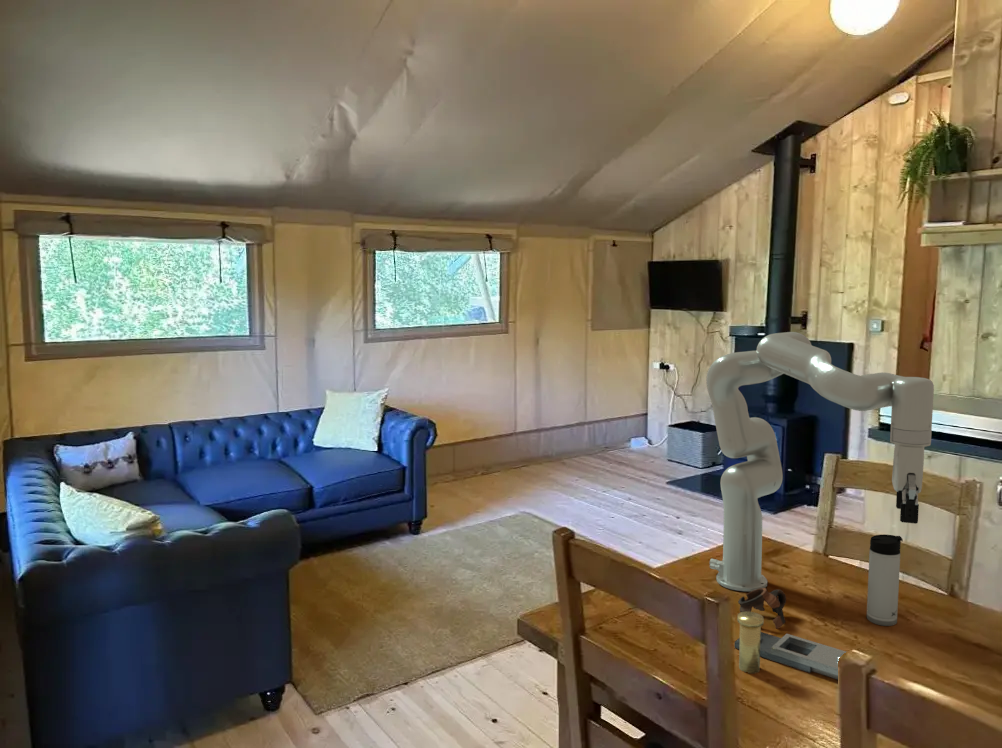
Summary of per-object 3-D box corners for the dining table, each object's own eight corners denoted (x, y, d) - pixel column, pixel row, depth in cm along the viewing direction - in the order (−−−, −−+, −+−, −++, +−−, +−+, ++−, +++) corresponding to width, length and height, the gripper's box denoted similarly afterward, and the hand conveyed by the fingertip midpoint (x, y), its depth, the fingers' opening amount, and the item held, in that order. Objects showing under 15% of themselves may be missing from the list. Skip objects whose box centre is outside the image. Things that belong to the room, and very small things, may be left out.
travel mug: (902, 627, 170) (906, 541, 167) (870, 625, 171) (874, 540, 169) (893, 615, 176) (897, 532, 174) (863, 613, 177) (866, 531, 175)
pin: (732, 669, 154) (733, 617, 152) (742, 659, 157) (744, 609, 156) (755, 677, 150) (757, 624, 149) (766, 667, 154) (767, 616, 152)
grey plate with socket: (734, 648, 162) (734, 633, 162) (750, 634, 168) (750, 620, 168) (851, 686, 146) (852, 670, 146) (865, 670, 152) (865, 654, 152)
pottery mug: (773, 636, 168) (754, 602, 169) (744, 638, 176) (726, 606, 177) (804, 609, 174) (785, 576, 176) (774, 612, 182) (757, 581, 183)
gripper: (887, 427, 167) (883, 502, 169) (893, 443, 151) (889, 526, 154) (926, 429, 164) (921, 505, 166) (936, 446, 149) (931, 530, 151)
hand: (906, 515), depth 160 cm, fingers open, 9 cm apart
